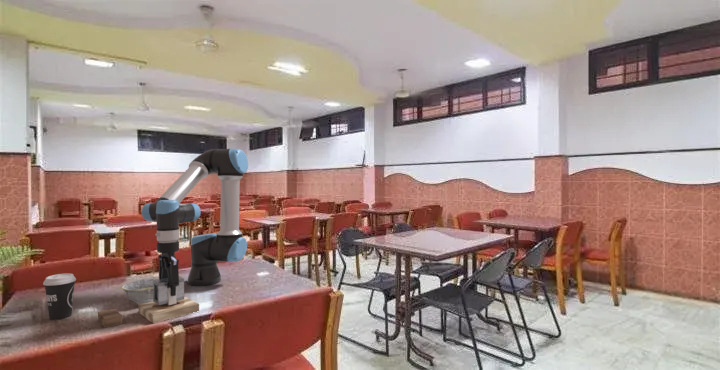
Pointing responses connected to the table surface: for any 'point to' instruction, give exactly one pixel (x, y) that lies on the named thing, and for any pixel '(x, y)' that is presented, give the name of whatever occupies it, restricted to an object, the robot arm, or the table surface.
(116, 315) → the stand
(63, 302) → the coffee cup
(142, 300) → the bowl
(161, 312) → the plate
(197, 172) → the robot arm
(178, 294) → the housing
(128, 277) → the table surface
